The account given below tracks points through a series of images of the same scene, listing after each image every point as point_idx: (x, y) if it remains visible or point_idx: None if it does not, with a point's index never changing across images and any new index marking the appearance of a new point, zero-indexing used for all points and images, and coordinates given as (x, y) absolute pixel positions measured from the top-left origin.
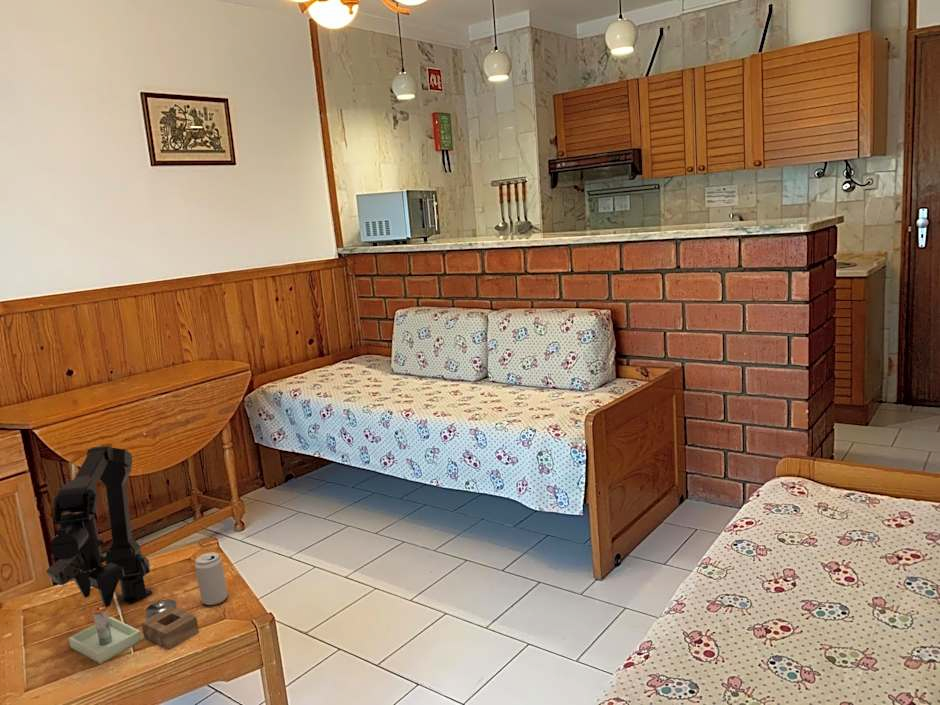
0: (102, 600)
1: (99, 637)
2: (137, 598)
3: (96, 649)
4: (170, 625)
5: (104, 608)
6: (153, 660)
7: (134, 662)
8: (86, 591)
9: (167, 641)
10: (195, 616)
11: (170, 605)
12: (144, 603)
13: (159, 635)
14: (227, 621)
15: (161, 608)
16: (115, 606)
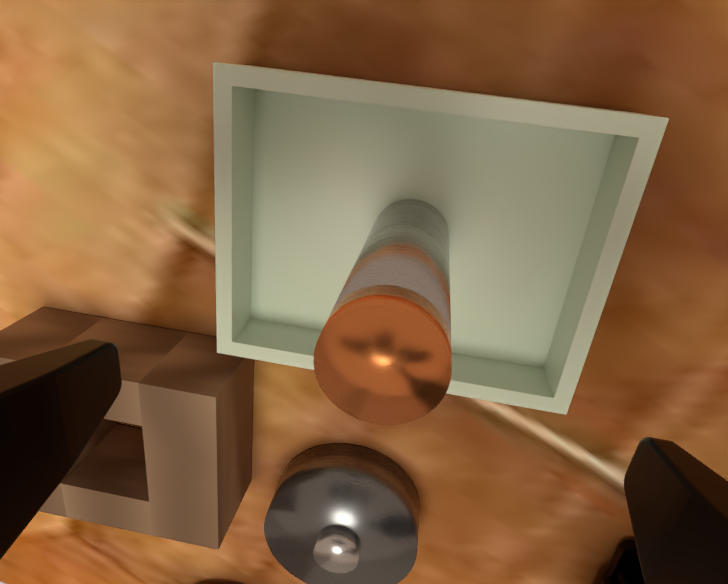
0: (8, 383)
1: (401, 213)
2: (604, 580)
3: (395, 156)
4: None
5: (318, 373)
6: (15, 216)
7: (81, 164)
8: (664, 530)
9: (7, 329)
10: None
11: (300, 557)
12: (547, 557)
13: (56, 347)
14: (41, 519)
15: (320, 530)
16: None
